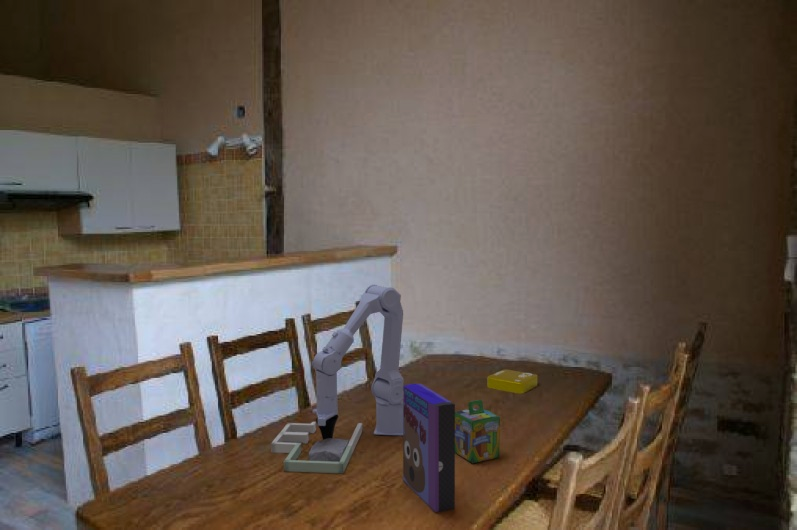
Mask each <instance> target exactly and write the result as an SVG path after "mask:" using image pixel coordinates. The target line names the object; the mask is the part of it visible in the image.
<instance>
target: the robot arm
mask: <svg viewBox="0 0 797 530" xmlns="http://www.w3.org/2000/svg"><path fill="white" fill-rule="evenodd" d="M401 298H402V295H401V293H400V292H399V291H397V290H396V288H394V287H387V286H382V285H381V286H380V285H377V284H371V285H369V286H367V288H366V289H365V290H364V292H363V293H362V294H361V295H360V301H359V303H358V304H357V307H356V308H355V309H354V311H353V313H352V314H351V315H350V317H349V319H348V320H347V322H346V324H345V326H344V327H343V328H339V329H337V330H336V331H333V332H332V334H331V336H332V337H331V338H330V339H329V341H328V342H327V343H326V345H325V346H324V347H322V349H321V350H322V351H320V352H317V353H316V354H315V356H314V357H313V361H311V365H312V367H313V369H314V370H315V379H316V382H315V385H316V387H315V389H316V408H313V409H312V414H316V416H317V418H316V419H315V422H316V426H317V427H318V428H319V431H320V434H321V440H325V439H328V438H334V437H333V436H334V432H335V428H336V427H335V426H336V424H337V420H338V418H339V409H338V371H340V369H341V367H342V361H343V358H344V356H345V355H346V353H347V352H348V351H349V350H350V348H351V346H352V345H353V343H354V341H355V339H354V335H356V332H358V330H359V329H360V328H361V326H362V325H363V324H364V323H365V322H366V320H367V319H368V318H369V317H370V315H372V314H377V313H380V314H381V315H382V316H383V317H384V320H383V321H384V322H383V332H382V341H381V345H382V346H381V354H380V355H381V356H380V368H379V370H377V371H376V372H375V374H374V380H373V381H372V384H371V393H372V395H373V396H374V397H375V398H374V399H375V402H376V406H375V407H376V408H375V409H376V410H375V411H376V421H375V422H376V426H375V429H374V431H373V435H376V436H378V435H381V436H403V386H405V385H404V377H403V375H402V374H401V372H400V371H399V368H400V355H401V345H402V344H401V343H402V332H403V319H404V309H403V306H402V302H401Z"/></svg>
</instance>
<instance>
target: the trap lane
mask: <svg viewBox="0 0 797 530" xmlns="http://www.w3.org/2000/svg"><path fill="white" fill-rule="evenodd" d="M316 431H317V423H316V421H312V422H311V423H298V422H296V423H294V422H287V423H286V424H285V426H284V427H283V428H282V430H281V431H280V432H279V433H278V434H277V436H276V437H275V438H274V439H273V440H272V441H271V443H270V453H274V454H287V456H286V458H285V459H284V460H283V472H289V473H290V472H291V473H292V472H293V473H294V472H295V473H321V474H345V471H346V469H347V466H348V464H349V462H350V460H351V457H352V455H353V453H354V451H355V448H356V446H357V444H358V442H359V439H360V438H361V436H362V433H363V423H362V422H358V423H357V425H356V427H355V429H354V431H353V433H352V436H351V437H350V439H349V443H348V445H347V447H346V449H345V451H344V453H343V456H342V458H341V460H340V462H331V461H309V460H304V459H303V460H299V459H298V458H299V456H300V455H301V453H302V445H303V444H304V445H305V444H306V445H307V444H308V443H309V440H310V439H309V438H310V437H309V435H310V434H315V432H316ZM297 459H298V460H297Z"/></svg>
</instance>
